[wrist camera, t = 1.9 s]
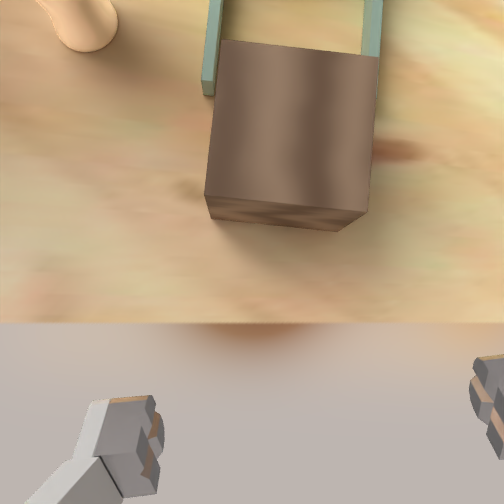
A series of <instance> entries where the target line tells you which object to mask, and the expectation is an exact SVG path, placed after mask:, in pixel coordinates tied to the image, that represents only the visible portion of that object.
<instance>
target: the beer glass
mask: <svg viewBox="0 0 504 504" xmlns="http://www.w3.org/2000/svg"><path fill="white" fill-rule="evenodd" d="M35 1H36V2H37V3H38V4H39V5H41V6H42V7H43V9H44V10H45V11H46V12H47V13H48V14H49V16H50V18H51V21H52V24H53V27H54V29H55V32H56V34H57V36H58V37H59V39H60V40H61V41H62V42H63V43H64V44H65V45H66V46H68V47H69V48H71V49H73V50H76V51H79V52H92V51H96V50H99V49H101V48H103V47H105V46H106V45H107V44H108V43H109V42H110V41H111V40H112V39H113V37H114V36H115V34H116V31H117V27H118V18H117V13H116V11H115V9H114V7H113V5H112V4H111V2H110V1H109V0H35Z"/></svg>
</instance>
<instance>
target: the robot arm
mask: <svg viewBox="0 0 504 504" xmlns="http://www.w3.org/2000/svg"><path fill="white" fill-rule="evenodd" d="M473 370H474V371H475V373H476V376H474V377H473V378H472V379H471V380H470V386H469V393H470V400H471V403H472V406H473V409H474V411H475V413H476V415H477V417H478V418H479V419H480V420H481V421H483V422H484V423H486V424H487V425H488V429H487V433H486V435H487V437H488V439H489V441H490V443H491V445H492V447H493V448H494V450H495V452H496V454H497V456H498V458H499V460H502V459H504V354H502V355H494V356H486V357H478V358H476V359H475V361H474V364H473ZM155 406H156V403H155V401H154V398H153V396H152V395H147V396H135V397H124V398H112V399H103V400H93V402H92V403H91V404H90V406H89V408H88V411H87V414H86V417H85V420H84V423H83V426H82V429H81V432H80V435H79V438H78V441H77V444H76V447H75V450H74V453H73V456H72V459H71V460H66V461H65V462H64V463H63V464H62V465H61V466H60V467H59V468H58V469H57V470H56V471H55V472H54V473H53V474H52V475H51V476H50V477H49V478H48V479H47V480H46V481H45V482H44V483H43V484H42V486H41V487H40V488H39V489H38V490H37V491H36V492H35V493H34V494H33V495H32V496H31V497H30V498H29V499H28V500H27V501H26V502H25V503H24V504H121V503H122V502H123V498H130V497H137V496H145V495H152V494H156V493H157V487H158V480H159V474H160V466H159V464H158V461H157V458H158V457H159V456H160V454H161V453H162V452H163V447H164V425H163V420H162V418H161V415H160V414H159V413H157V412H155Z"/></svg>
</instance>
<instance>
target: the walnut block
mask: <svg viewBox="0 0 504 504" xmlns="http://www.w3.org/2000/svg"><path fill="white" fill-rule="evenodd" d="M378 65H379V57H374V56H365V55H356V54H348V53H339V52H330V51H322V50H313V49H304V48H296V47H287V46H278V45H270V44H261V43H252V42H244V41H235V40H226V39H222V41H221V49H220V58H219V67H218V76H217V85H216V94H215V103H214V111H213V120H212V129H211V138H210V147H209V156H208V165H207V173H206V182H205V191H204V196H205V199H206V203H207V206H208V209H209V213H210V216H211V219H221V220H230V221H240V222H250V223H259V224H269V225H278V226H288V227H297V228H307V229H316V230H326V231H335V232H338V231H339V230H341V229H342V228H344V227H345V226H347V225H348V224H350V223H352V222H353V221H355V220H356V219H358V218H359V217H361V216H362V215H364V214H365V213H367V212H368V200H369V186H370V173H371V159H372V146H373V132H374V119H375V105H376V92H377V79H378Z"/></svg>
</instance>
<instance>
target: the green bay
mask: <svg viewBox="0 0 504 504" xmlns="http://www.w3.org/2000/svg"><path fill="white" fill-rule="evenodd" d="M223 4H224V0H210V4H209V13H208V22H207V31H206V40H205V50H204V59H203V68H202V77H201V82H202V88H203V95H210V96H214V90H215V80H216V71H217V61H218V51H219V42H220V32H221V23H222V13H223ZM382 10H383V0H365V5H364V19H363V33H362V47H361V55H365V56H374V57H379V56H380V41H381V25H382ZM378 71H379V65H378ZM377 86H378V79H377ZM376 99H377V92H376Z"/></svg>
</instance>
